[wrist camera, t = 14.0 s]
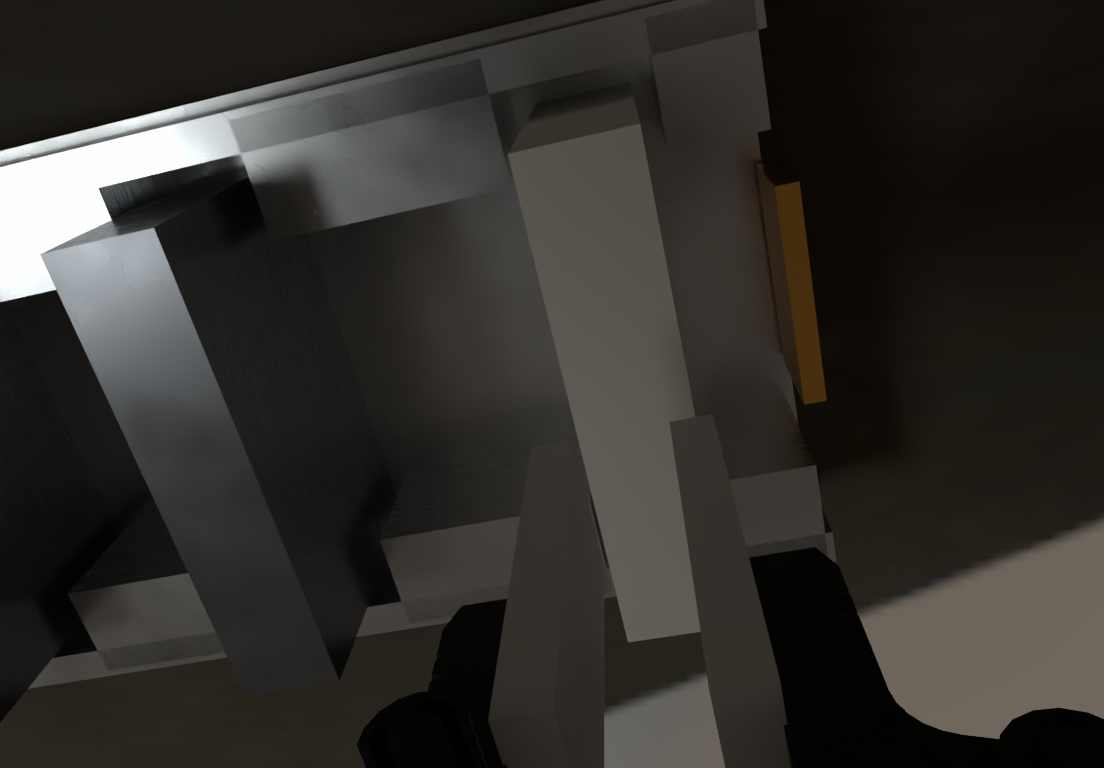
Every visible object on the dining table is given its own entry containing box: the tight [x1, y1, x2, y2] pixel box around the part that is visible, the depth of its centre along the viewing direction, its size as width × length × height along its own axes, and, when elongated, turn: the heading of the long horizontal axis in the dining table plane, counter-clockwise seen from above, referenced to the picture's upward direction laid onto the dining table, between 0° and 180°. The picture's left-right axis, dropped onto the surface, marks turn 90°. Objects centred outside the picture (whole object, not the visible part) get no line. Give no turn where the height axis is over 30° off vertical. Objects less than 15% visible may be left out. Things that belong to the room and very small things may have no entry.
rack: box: [0, 0, 836, 722], centre depth 25 cm, size 29×16×9 cm, turn 103°
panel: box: [508, 82, 701, 642], centre depth 23 cm, size 3×12×8 cm, turn 13°
